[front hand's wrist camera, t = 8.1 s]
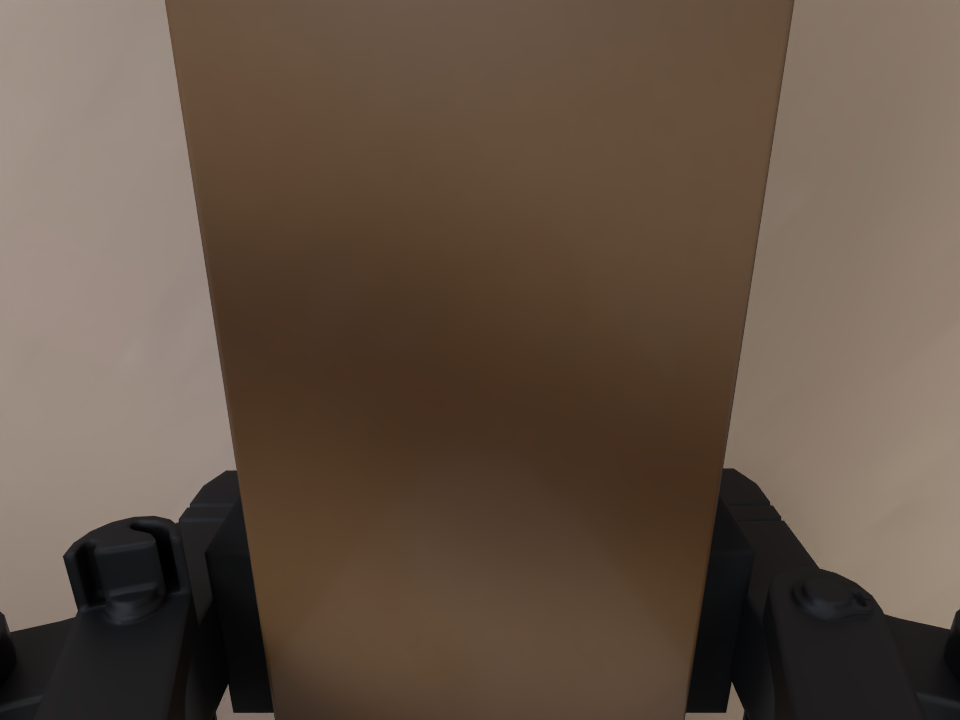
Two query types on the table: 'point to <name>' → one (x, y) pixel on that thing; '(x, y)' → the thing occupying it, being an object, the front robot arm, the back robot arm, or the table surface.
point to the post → (479, 334)
